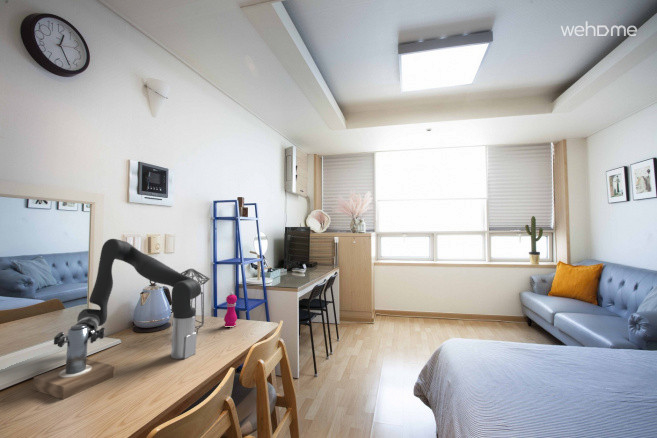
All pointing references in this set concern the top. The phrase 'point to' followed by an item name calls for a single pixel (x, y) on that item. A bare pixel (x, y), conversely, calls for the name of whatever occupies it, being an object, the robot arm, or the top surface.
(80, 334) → the cylinder
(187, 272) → the geometric lantern
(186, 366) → the top surface
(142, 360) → the top surface
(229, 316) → the pepper mill
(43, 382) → the stand
